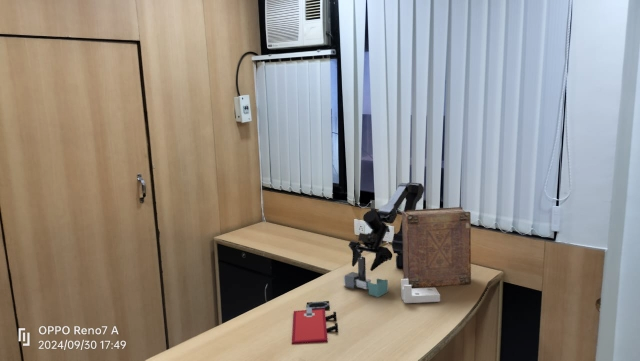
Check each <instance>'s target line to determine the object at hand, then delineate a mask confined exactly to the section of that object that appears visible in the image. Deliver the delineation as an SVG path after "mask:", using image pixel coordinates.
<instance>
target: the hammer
mask: <svg viewBox="0 0 640 361" xmlns="http://www.w3.org/2000/svg"><path fill="white" fill-rule="evenodd" d="M366 265H367V264H366V257H365V256H361V257H358V262H357V271H358V272H357V273H358V277H357V278H355V286H356V287H358V288H360V289H364V290H369V283H372V282H371V281H372V280H371V279H368V278H367V275H366V274H367V272H366V270H367V268H366V267H367V266H366ZM343 284H345V275H343Z"/></svg>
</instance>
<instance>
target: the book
mask: <svg viewBox="0 0 640 361" xmlns="http://www.w3.org/2000/svg"><path fill="white" fill-rule="evenodd" d="M471 218H472V217H471V212H470V211H469V210H468V211H465V210H463V207H462V206H458V207H457V206H455V207H440V208H439V207H437V208H424V209H423V208H422V209H415V210H405V211H404V210H402V211H401V221H402V232H403V269H402V270H403V279H408V283H409V285H411V286H412V289H414V288H437V287H448V286H449V287H450V286H464V285H471V283H472V282H471V280H472V276H471V274H472V273H471V272H472V266H471V265H472V262H471V261H472V257H471V256H472V253H471V252H472V251H471V250H472V249H471V248H472V245H471V239H472V238H471V236H472V235H471V230H472V229H471V226H472V225H471V221H472V219H471Z"/></svg>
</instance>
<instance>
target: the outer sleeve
mask: <svg viewBox="0 0 640 361" xmlns="http://www.w3.org/2000/svg"><path fill="white" fill-rule="evenodd" d="M344 276H345V283H344V286H345V288H347V289H350V290H356V289H357V288H359V287H356V286H355V278H357V277H358V272H354V271H352V272H348V273H347V274H345V275H344Z"/></svg>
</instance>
